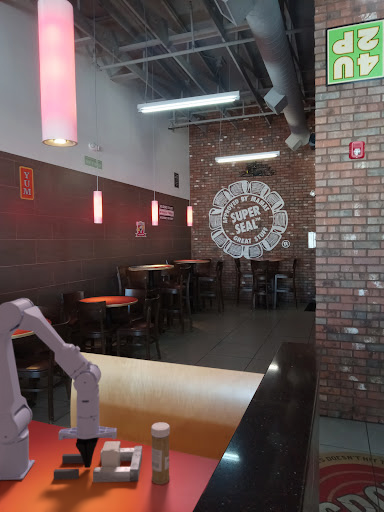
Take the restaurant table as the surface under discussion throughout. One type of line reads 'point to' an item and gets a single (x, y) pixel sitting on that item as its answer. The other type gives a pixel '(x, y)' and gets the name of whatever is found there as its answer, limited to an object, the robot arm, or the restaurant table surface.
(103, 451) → the plug
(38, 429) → the restaurant table surface
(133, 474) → the block
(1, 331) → the robot arm
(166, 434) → the sprinkles bottle
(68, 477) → the pair of grey blocks
